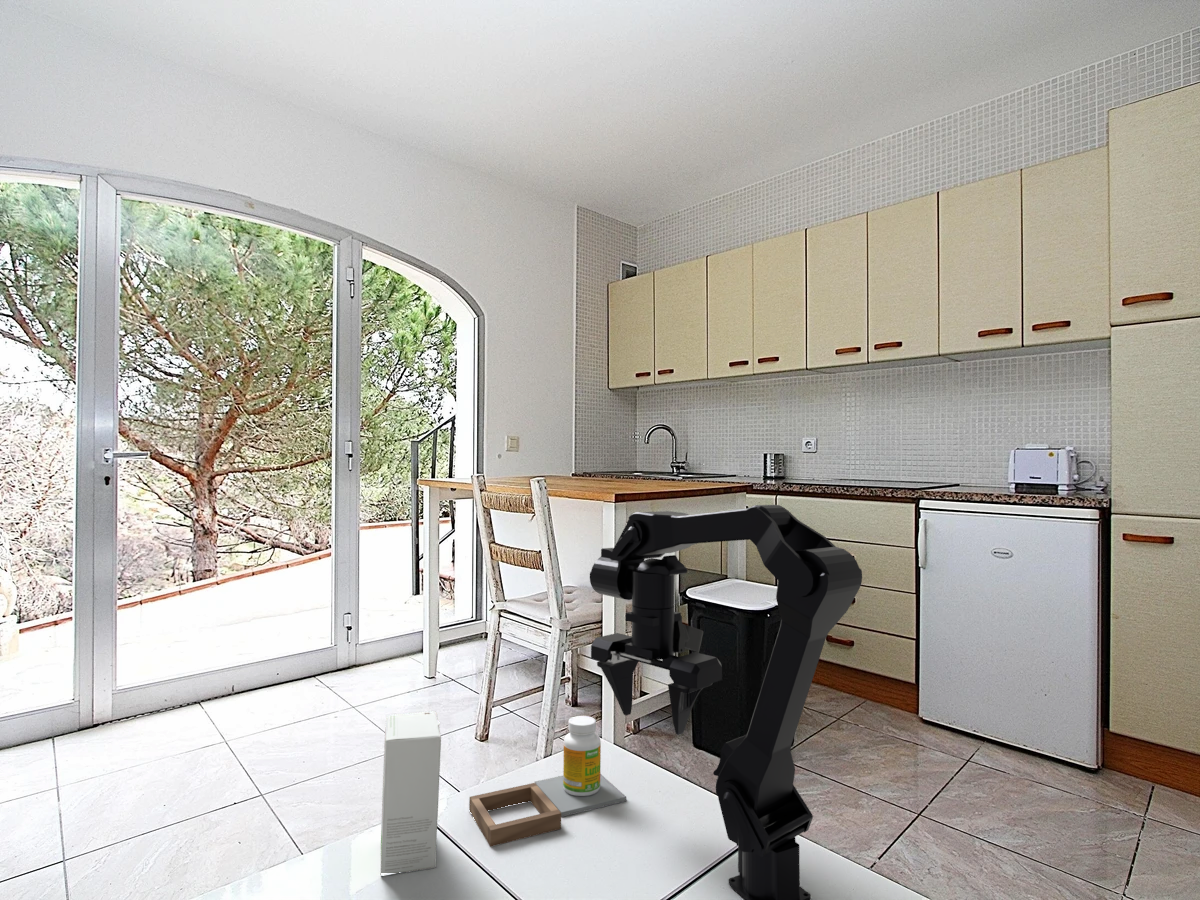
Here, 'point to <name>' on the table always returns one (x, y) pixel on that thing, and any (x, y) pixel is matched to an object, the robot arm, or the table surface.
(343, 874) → the table surface
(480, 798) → the walnut collar
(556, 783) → the slate pad
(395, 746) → the skincare box
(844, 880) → the table surface
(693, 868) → the table surface
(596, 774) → the supplement bottle
